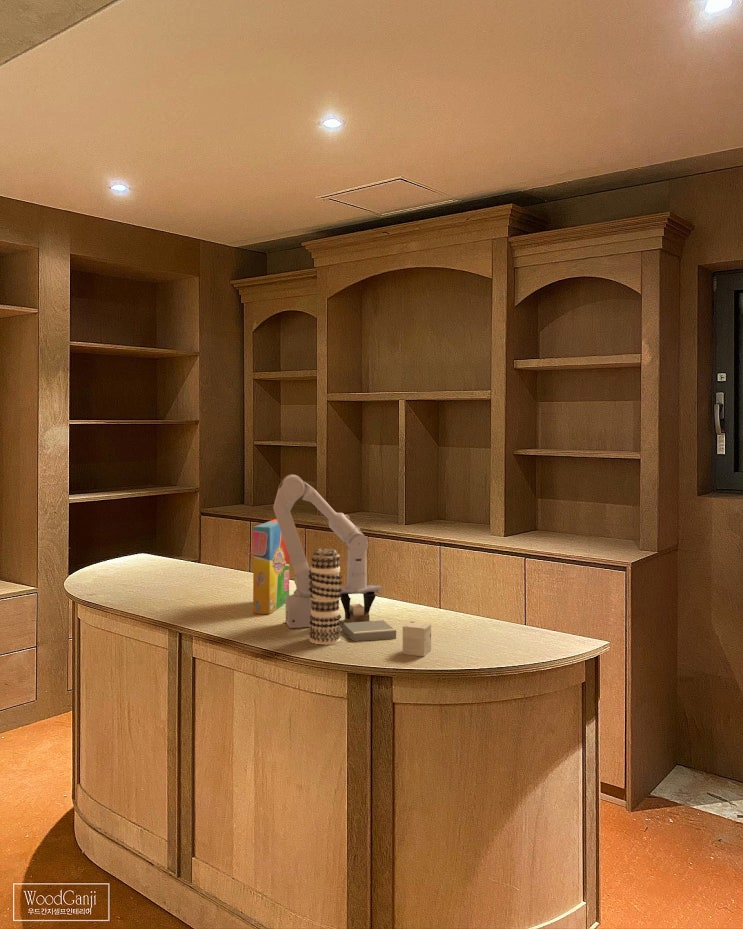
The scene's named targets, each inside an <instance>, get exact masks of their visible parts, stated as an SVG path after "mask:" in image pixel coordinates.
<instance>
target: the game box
mask: <svg viewBox="0 0 743 929" xmlns="http://www.w3.org/2000/svg"><path fill="white" fill-rule="evenodd" d="M252 530H253V531H252V533H253V537H252V538H253V542H252V543H253V548H252V550H253V552H252V554H253V558H252V559H253V565H252V566H253V567H252V568H253V569H252V570H253V573H252V574H253V575H252V576H253V577H252V578H253V579H252V583H253V586H252V590H253V591H252V598H253V599H252V613H253V614H254V615H255V614H258V615H270V614H271V613H273V612H275V611H276V610H277V609H279V608H280V607H281V606H283V605H284V604H286V596H289V595H290V557H289V554H288V551H287V548H286V545H285V542H284V539H283V536H282V533H281V530H280V527H279V524H278V521H277V518H274V519H271V520H269V521H266V522H264V523H261V524H258V525H255V526H253V529H252Z"/></svg>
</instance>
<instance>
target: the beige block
mask: <svg viewBox="0 0 743 929" xmlns="http://www.w3.org/2000/svg"><path fill="white" fill-rule="evenodd" d="M350 612H351V613H352V614H353V615H364V605H362V604H361V603H350Z"/></svg>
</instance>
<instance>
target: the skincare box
mask: <svg viewBox="0 0 743 929" xmlns="http://www.w3.org/2000/svg"><path fill="white" fill-rule="evenodd" d="M431 651H432V623H430V622H419V621H413V620H412V621H409V622H407V623H406V624H405V625H403V626H402V655H409V656H418V657H425V656H426V655H428V654H429V653H430V652H431Z"/></svg>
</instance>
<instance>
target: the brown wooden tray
mask: <svg viewBox="0 0 743 929" xmlns="http://www.w3.org/2000/svg"><path fill="white" fill-rule="evenodd" d="M344 620H345V621H346V623H352V622H366V621H370V614H368V613H366V612H365V611H364V615H353V614H352V613H351V612H350V619H346V616H345V615H344Z"/></svg>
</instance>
